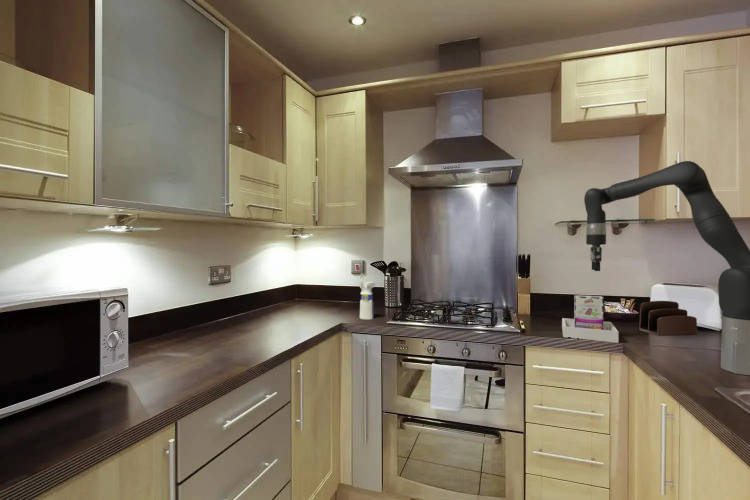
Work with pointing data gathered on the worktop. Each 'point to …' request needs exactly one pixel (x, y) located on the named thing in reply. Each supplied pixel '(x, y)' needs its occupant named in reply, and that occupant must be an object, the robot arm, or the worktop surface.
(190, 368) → the worktop surface
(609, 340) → the tray
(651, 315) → the letter holder
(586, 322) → the candy bar box
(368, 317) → the white spray bottle
